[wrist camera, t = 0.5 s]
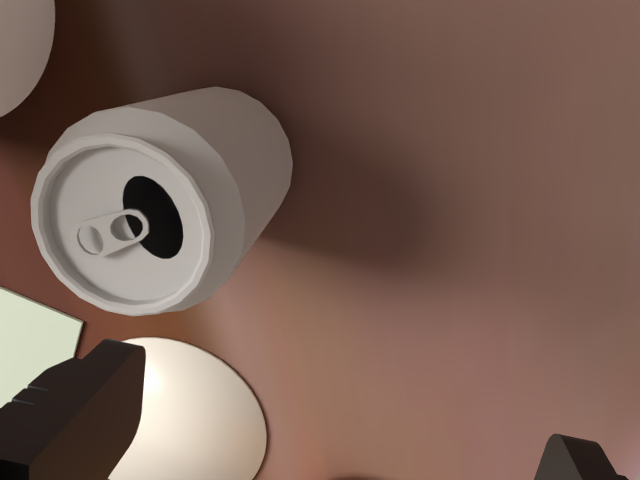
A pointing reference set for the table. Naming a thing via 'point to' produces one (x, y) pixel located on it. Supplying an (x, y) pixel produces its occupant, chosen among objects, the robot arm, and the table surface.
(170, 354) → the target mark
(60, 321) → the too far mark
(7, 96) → the canister
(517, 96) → the table surface
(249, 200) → the can
